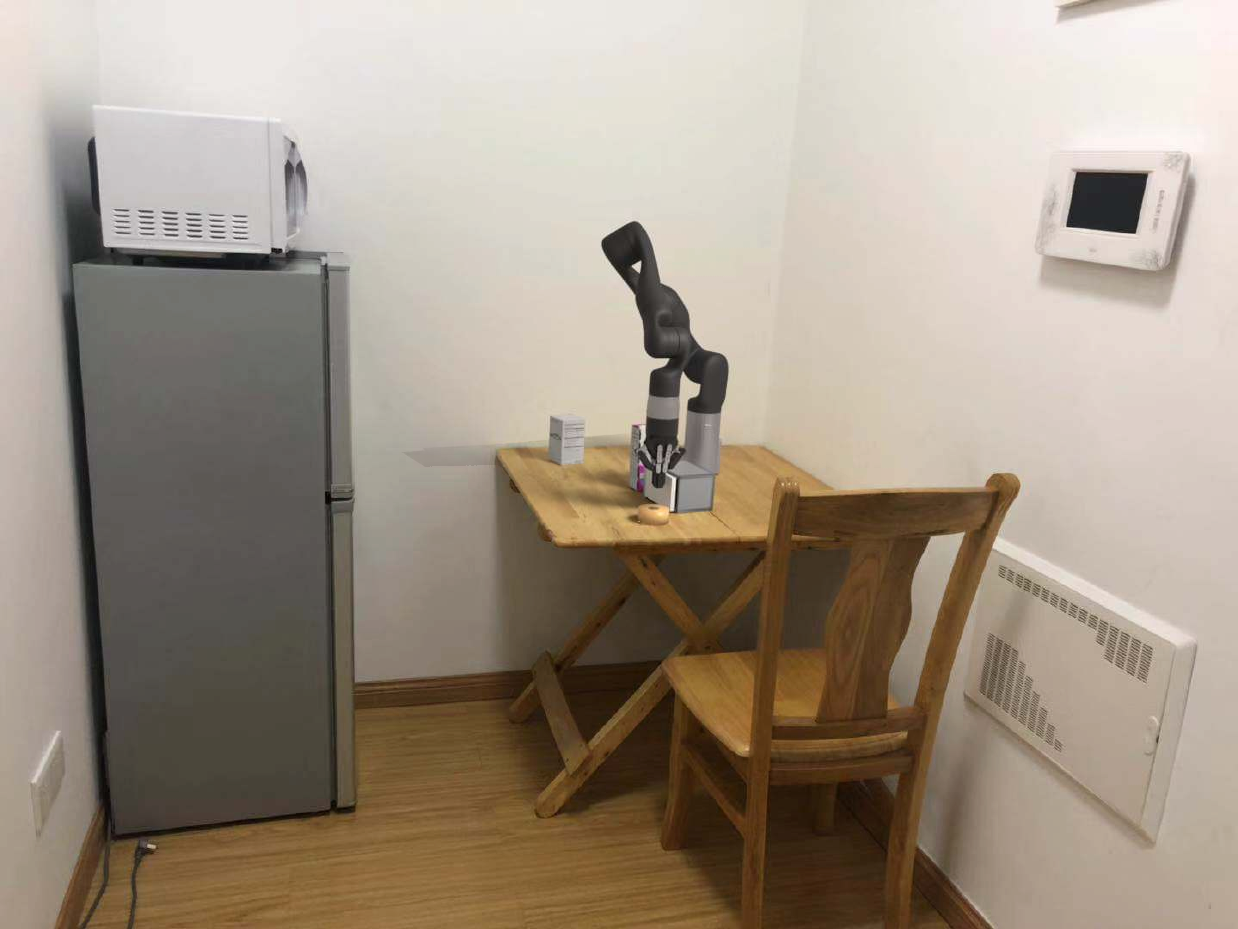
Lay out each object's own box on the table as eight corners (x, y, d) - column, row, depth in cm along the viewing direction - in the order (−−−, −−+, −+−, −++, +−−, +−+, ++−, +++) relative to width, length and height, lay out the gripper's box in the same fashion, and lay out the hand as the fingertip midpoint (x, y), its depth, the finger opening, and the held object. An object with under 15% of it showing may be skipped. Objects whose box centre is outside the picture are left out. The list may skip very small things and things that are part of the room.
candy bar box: (665, 483, 258) (669, 421, 254) (675, 488, 254) (679, 425, 250) (627, 486, 253) (631, 423, 249) (636, 491, 249) (640, 427, 245)
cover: (641, 496, 245) (643, 462, 243) (646, 496, 246) (649, 462, 243) (669, 513, 232) (671, 478, 230) (674, 513, 233) (676, 478, 231)
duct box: (683, 494, 249) (686, 459, 247) (712, 510, 237) (715, 473, 234) (650, 497, 245) (652, 461, 242) (677, 513, 233) (680, 476, 230)
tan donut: (660, 515, 230) (660, 502, 230) (673, 524, 224) (674, 511, 224) (632, 517, 228) (633, 504, 227) (645, 526, 221) (646, 513, 221)
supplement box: (547, 459, 276) (549, 414, 273) (570, 457, 280) (572, 413, 277) (560, 465, 270) (562, 420, 267) (584, 463, 274) (586, 418, 271)
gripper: (644, 419, 221) (640, 493, 226) (696, 416, 227) (690, 489, 231) (629, 412, 228) (625, 485, 232) (679, 410, 234) (674, 481, 238)
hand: (658, 487), depth 232 cm, fingers closed
